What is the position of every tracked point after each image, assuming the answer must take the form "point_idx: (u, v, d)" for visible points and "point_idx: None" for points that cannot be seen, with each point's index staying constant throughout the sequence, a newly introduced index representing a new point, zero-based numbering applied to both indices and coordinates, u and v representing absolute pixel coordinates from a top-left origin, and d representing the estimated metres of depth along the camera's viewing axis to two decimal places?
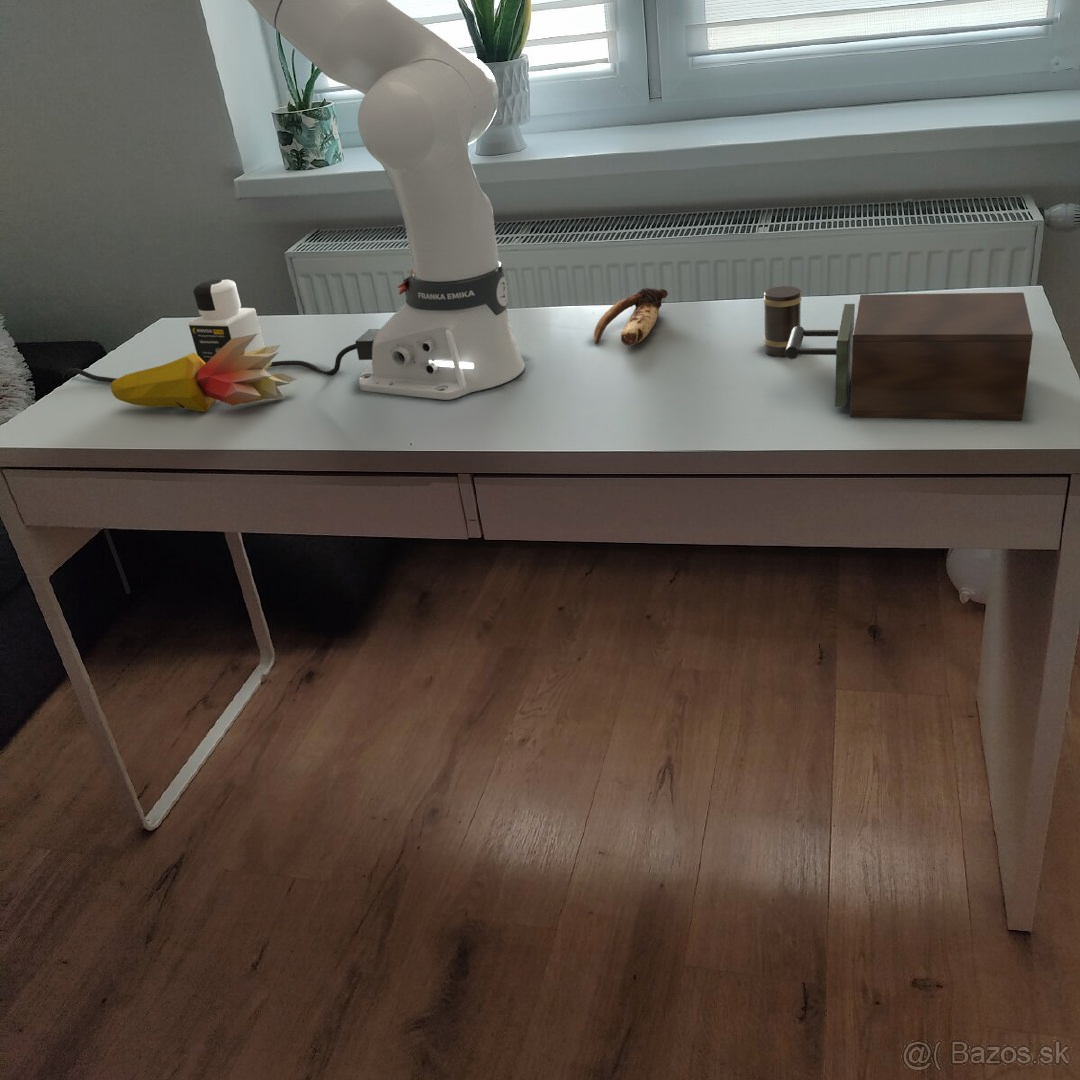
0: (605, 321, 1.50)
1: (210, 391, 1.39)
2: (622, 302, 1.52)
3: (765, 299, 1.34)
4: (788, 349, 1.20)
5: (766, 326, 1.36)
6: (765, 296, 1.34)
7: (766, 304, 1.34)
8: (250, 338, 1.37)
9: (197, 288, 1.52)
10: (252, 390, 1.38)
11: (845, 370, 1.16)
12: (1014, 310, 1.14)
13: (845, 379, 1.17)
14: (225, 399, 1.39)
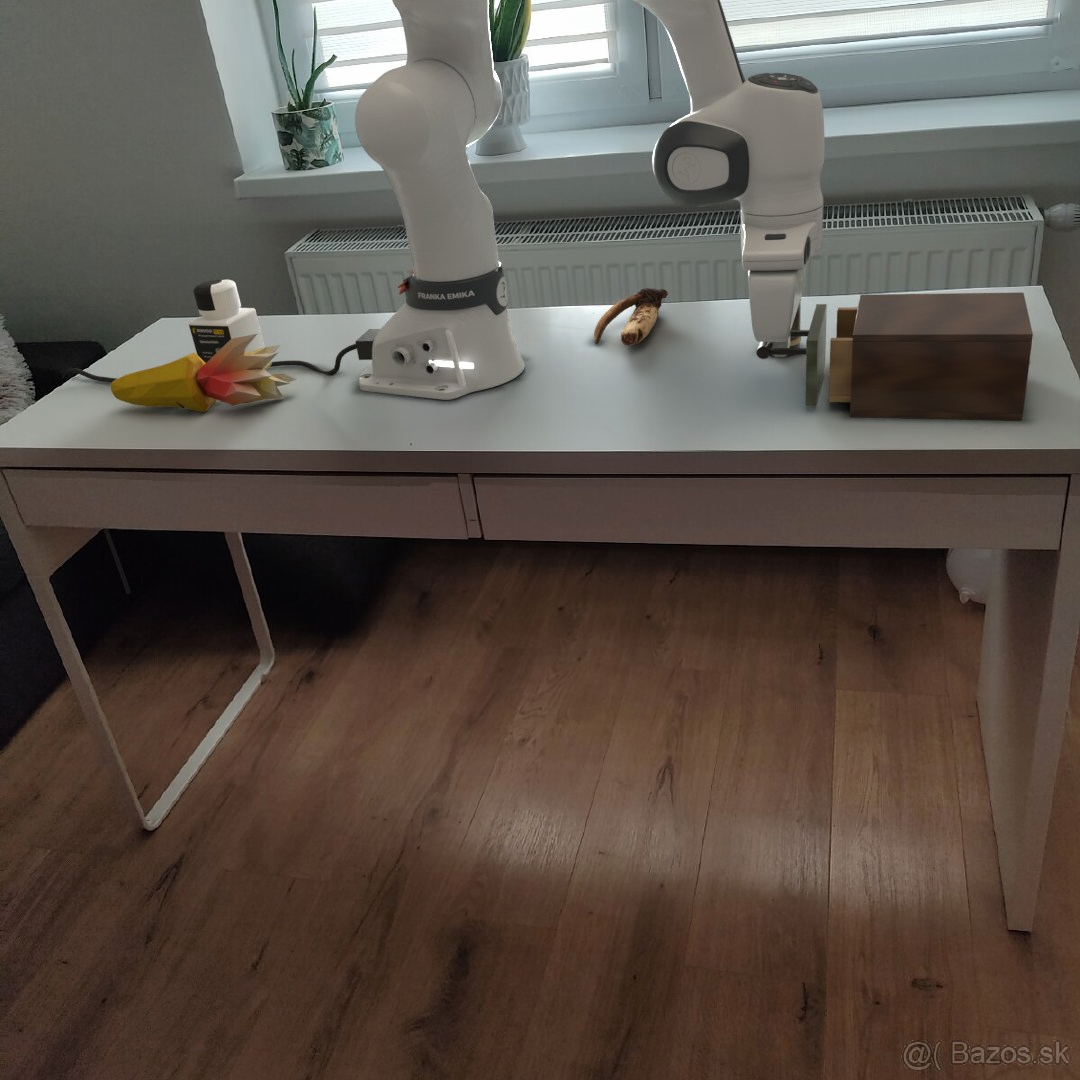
0: (605, 321, 1.50)
1: (210, 391, 1.39)
2: (622, 302, 1.52)
3: None
4: (759, 349, 1.21)
5: None
6: None
7: None
8: (250, 338, 1.37)
9: (197, 288, 1.52)
10: (252, 390, 1.38)
11: (815, 370, 1.17)
12: (1014, 310, 1.14)
13: (815, 379, 1.18)
14: (225, 399, 1.39)
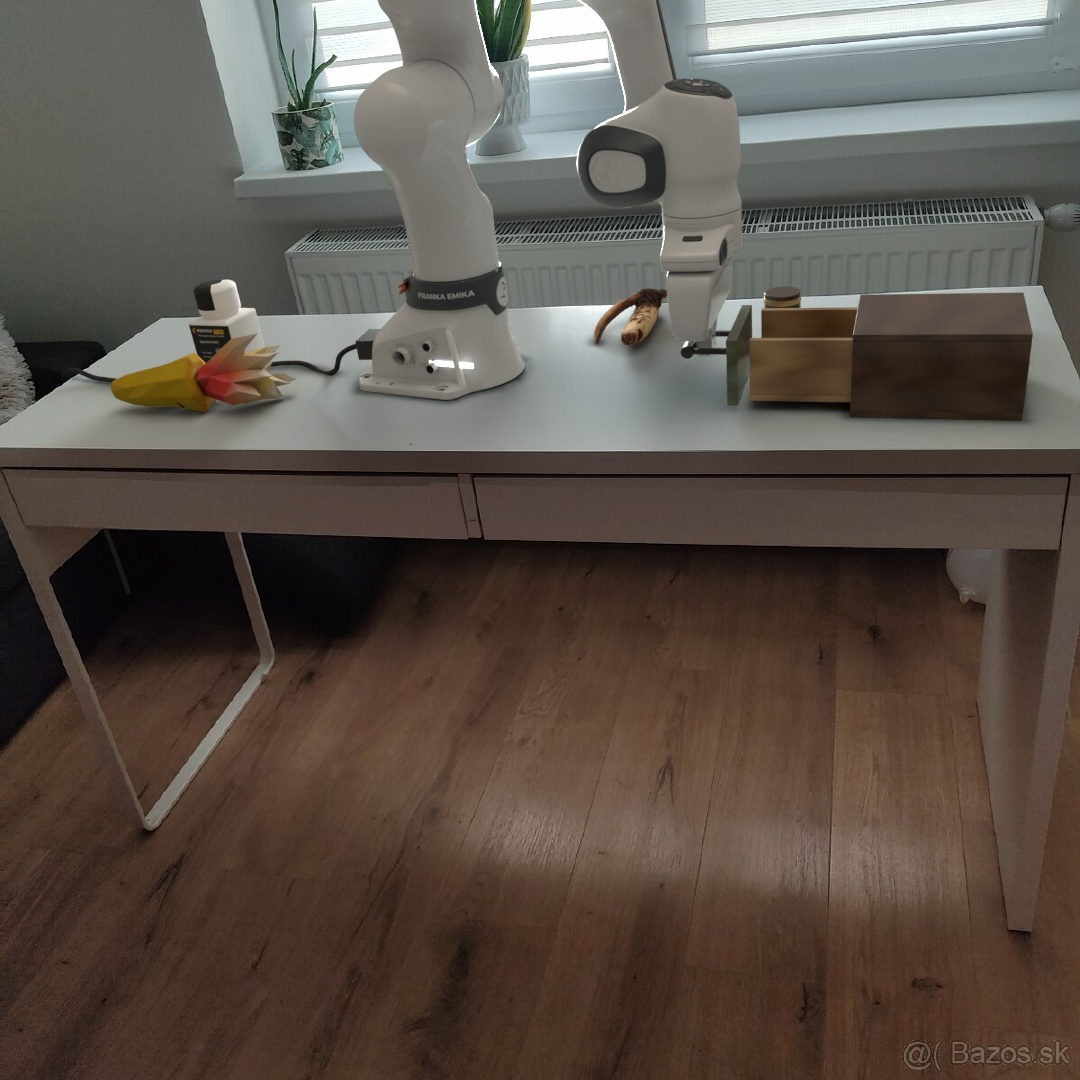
0: (605, 321, 1.50)
1: (210, 391, 1.39)
2: (622, 302, 1.52)
3: (765, 299, 1.34)
4: (683, 349, 1.24)
5: None
6: (765, 296, 1.34)
7: (766, 304, 1.34)
8: (250, 338, 1.37)
9: (197, 288, 1.52)
10: (252, 390, 1.38)
11: (735, 369, 1.20)
12: (1014, 310, 1.14)
13: (736, 378, 1.21)
14: (225, 399, 1.39)
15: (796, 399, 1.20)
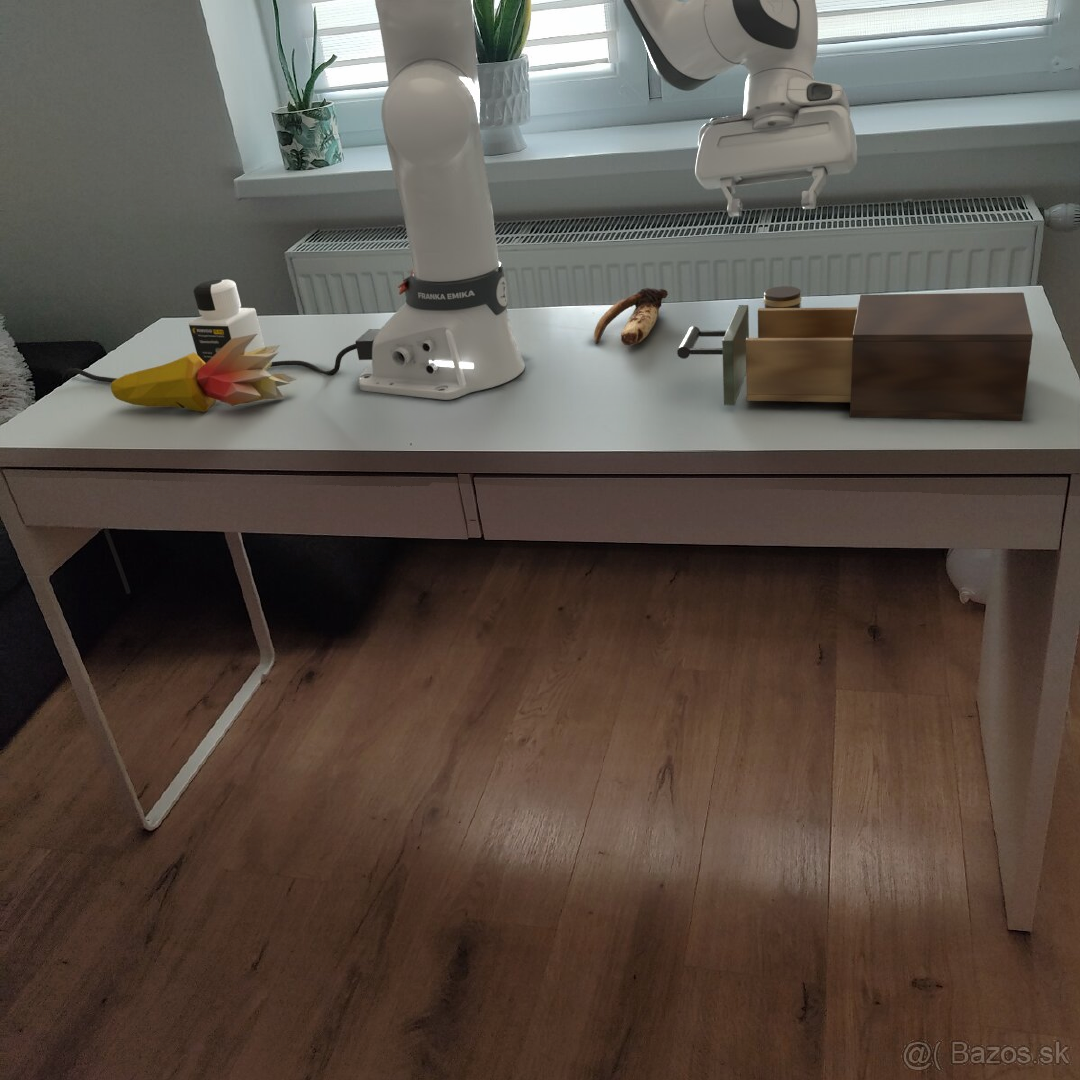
0: (605, 321, 1.50)
1: (210, 391, 1.39)
2: (622, 302, 1.52)
3: (765, 299, 1.34)
4: (680, 349, 1.24)
5: None
6: (765, 296, 1.34)
7: (766, 304, 1.34)
8: (250, 338, 1.37)
9: (197, 288, 1.52)
10: (252, 390, 1.38)
11: (732, 369, 1.20)
12: (1014, 310, 1.14)
13: (732, 378, 1.21)
14: (225, 399, 1.39)
15: (792, 399, 1.21)
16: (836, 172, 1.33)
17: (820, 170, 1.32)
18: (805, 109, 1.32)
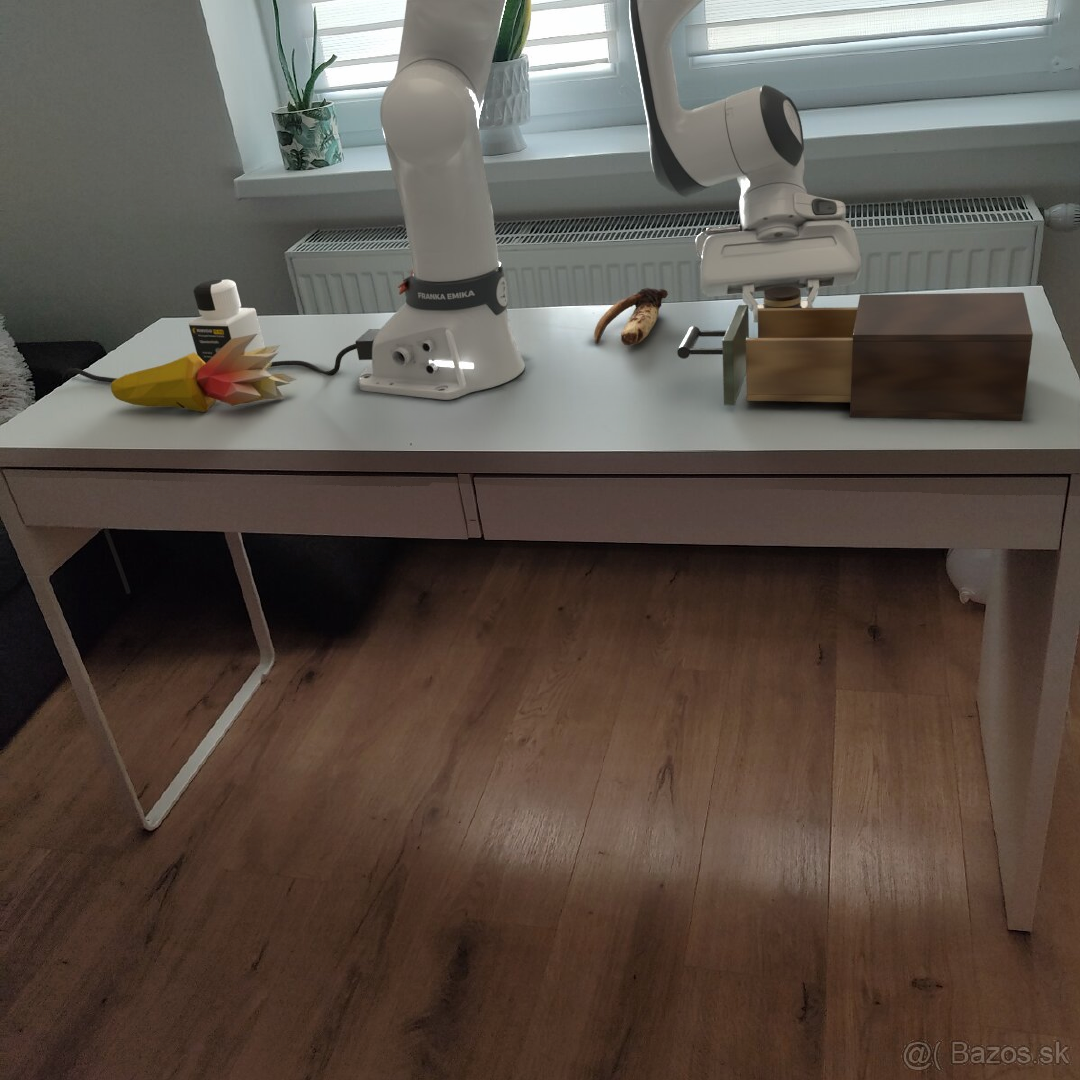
0: (605, 321, 1.50)
1: (210, 391, 1.39)
2: (622, 302, 1.52)
3: (765, 299, 1.34)
4: (680, 349, 1.24)
5: None
6: (765, 296, 1.34)
7: (766, 304, 1.34)
8: (250, 338, 1.37)
9: (197, 288, 1.52)
10: (252, 390, 1.38)
11: (732, 369, 1.20)
12: (1014, 310, 1.14)
13: (732, 378, 1.21)
14: (225, 399, 1.39)
15: (792, 399, 1.21)
16: (841, 283, 1.36)
17: (815, 282, 1.35)
18: (811, 222, 1.35)
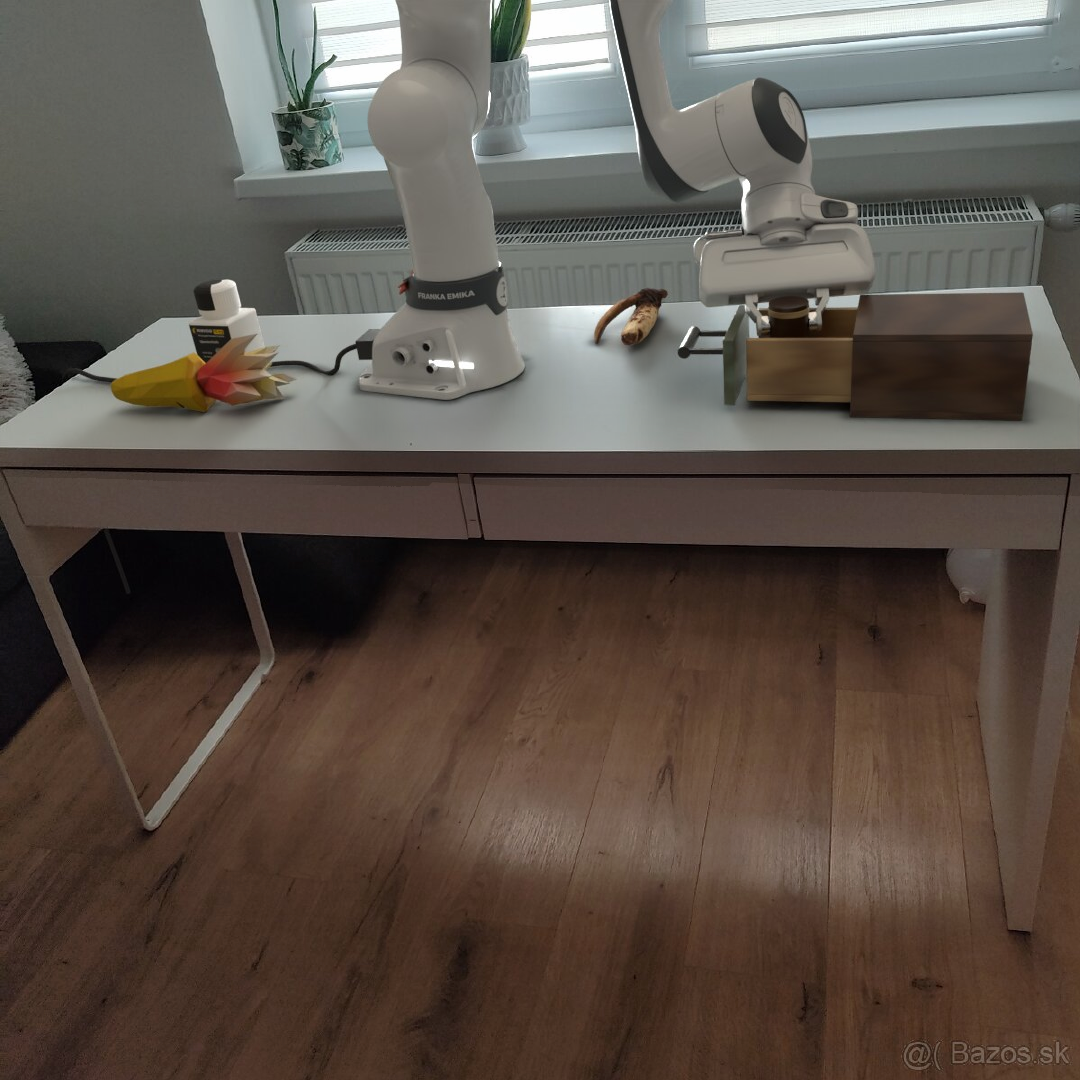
0: (605, 321, 1.50)
1: (210, 391, 1.39)
2: (622, 302, 1.52)
3: (770, 310, 1.22)
4: (680, 349, 1.24)
5: None
6: (770, 307, 1.22)
7: (771, 316, 1.23)
8: (250, 338, 1.37)
9: (197, 288, 1.52)
10: (252, 390, 1.38)
11: (732, 369, 1.20)
12: (1014, 310, 1.14)
13: (732, 378, 1.21)
14: (225, 399, 1.39)
15: (793, 399, 1.21)
16: (853, 292, 1.24)
17: (825, 291, 1.23)
18: (820, 226, 1.23)
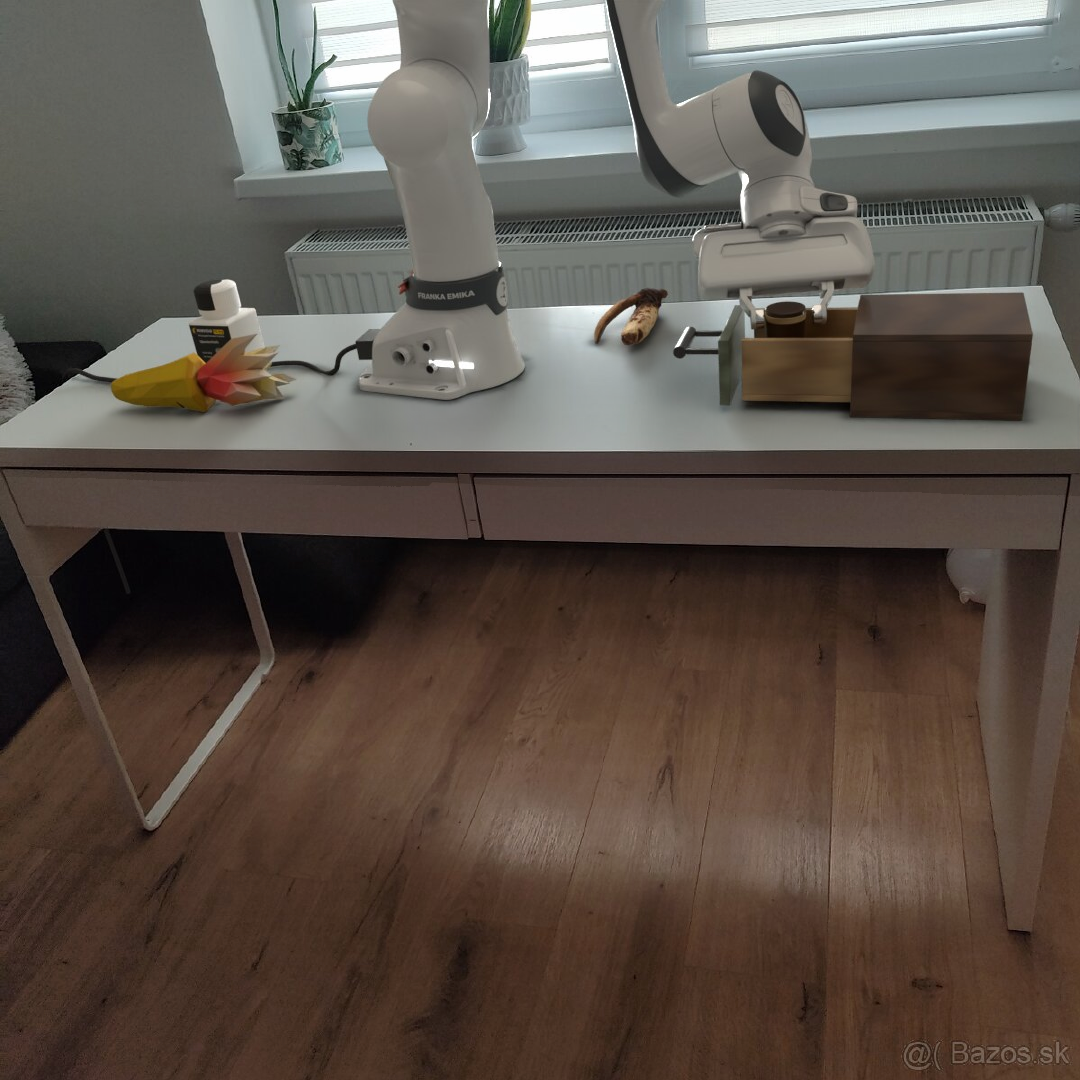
0: (605, 321, 1.50)
1: (210, 391, 1.39)
2: (622, 302, 1.52)
3: (766, 316, 1.23)
4: (676, 349, 1.24)
5: None
6: (766, 312, 1.23)
7: (768, 321, 1.23)
8: (250, 338, 1.37)
9: (197, 288, 1.52)
10: (252, 390, 1.38)
11: (727, 369, 1.20)
12: (1014, 310, 1.14)
13: (728, 378, 1.21)
14: (225, 399, 1.39)
15: (788, 399, 1.21)
16: (852, 286, 1.24)
17: (830, 284, 1.23)
18: (820, 219, 1.23)
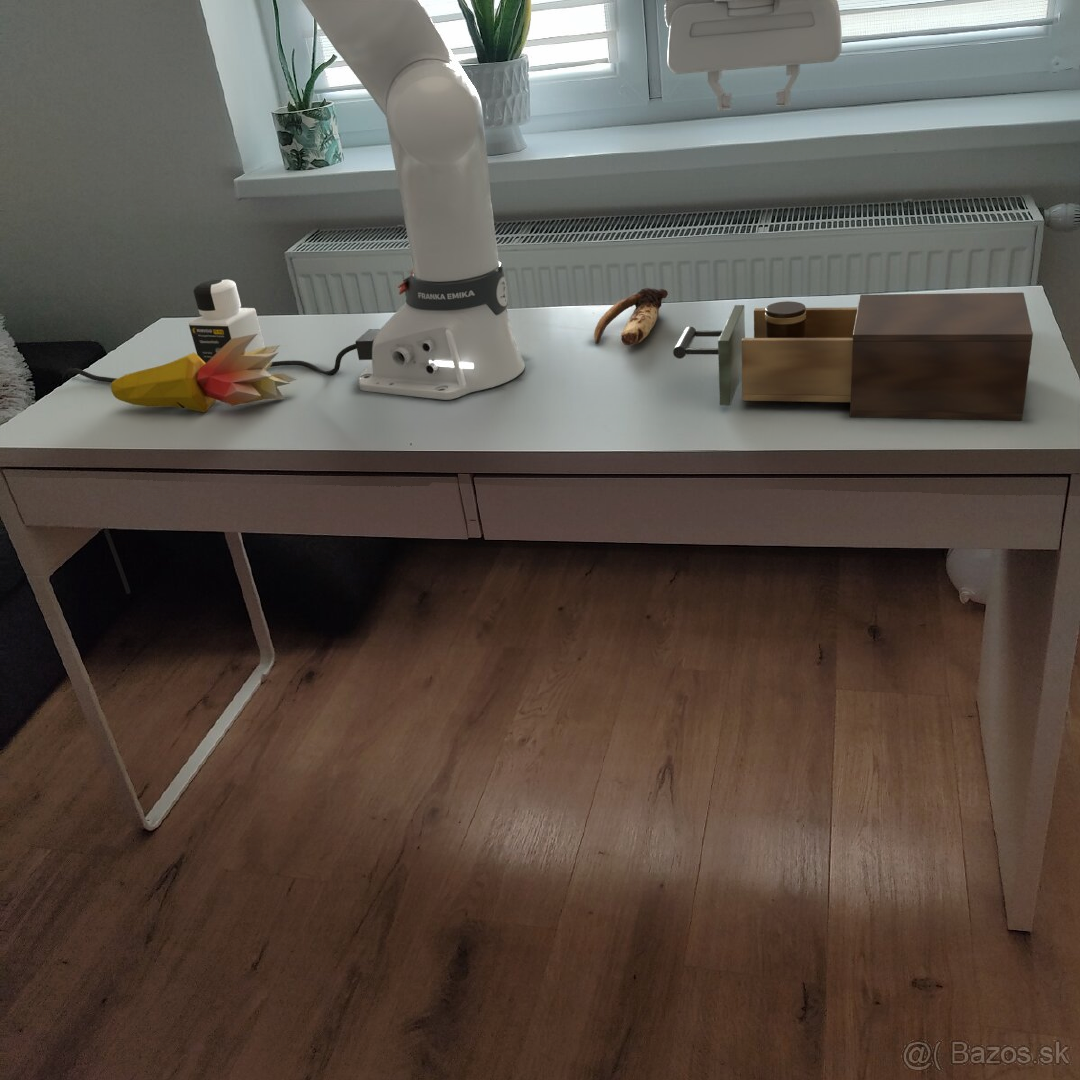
0: (605, 321, 1.50)
1: (210, 391, 1.39)
2: (622, 302, 1.52)
3: (766, 316, 1.23)
4: (676, 349, 1.24)
5: None
6: (766, 312, 1.23)
7: (768, 321, 1.23)
8: (250, 338, 1.37)
9: (197, 288, 1.52)
10: (252, 390, 1.38)
11: (727, 369, 1.20)
12: (1014, 310, 1.14)
13: (728, 378, 1.21)
14: (225, 399, 1.39)
15: (788, 399, 1.21)
16: None
17: (795, 68, 1.25)
18: (787, 0, 1.20)
